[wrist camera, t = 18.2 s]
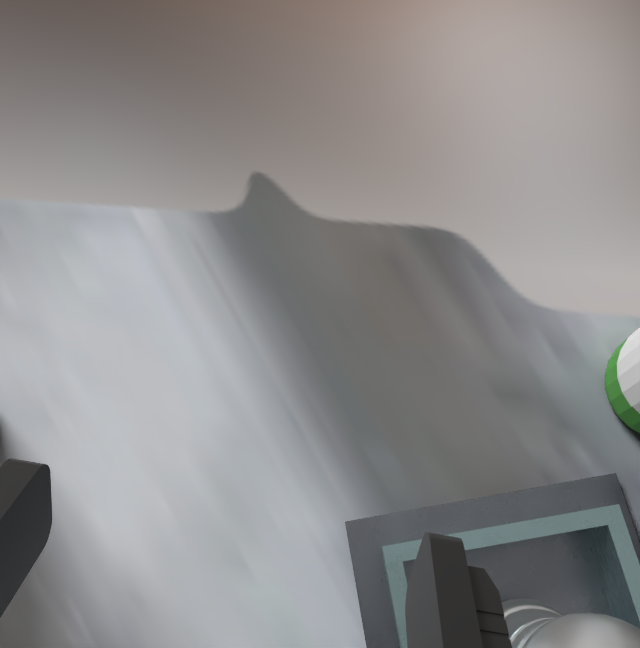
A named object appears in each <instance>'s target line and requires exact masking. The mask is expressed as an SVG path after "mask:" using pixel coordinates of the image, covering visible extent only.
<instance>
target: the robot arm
mask: <svg viewBox="0 0 640 648" xmlns="http://www.w3.org/2000/svg"><path fill="white" fill-rule="evenodd" d="M51 524H52V503H51V479H50V469H49V466H48V465H46V464H40V463H35V462H29V461H23V460H17V459H9V460H7V461H6V462H5V463H4V464H3V465H2V467H1V468H0V617H1V616H2V614H3V612H4V611H5V609H6V608H7V606H8V604H9V603H10V601H11V600H12V598H13V596H14V595H15V593H16V592H17V590H18V588H19V587H20V585H21V584H22V582H23V580H24V579H25V577H26V576H27V574H28V572H29V571H30V569H31V568H32V566H33V564H34V563H35V561H36V560H37V558H38V556H39V555H40V553H41V552H42V550H43V548H44V546H45V544H46V542H47V539H48V537H49V533H50V530H51ZM405 617H406V632H407V648H512V645H511V640H510V639H509V632H508V628H507V623H506V619H504V611H503V606H502V602H501V598H500V594H499V590H498V589H497V587H496V586H495V584H494V583H493V581H492V580H491V578H490V577H489V575H488V574H487V572H486V571H485V569H484V568H478V567H473V566H468V565H467V560H466V554H465V549H464V544H463V541H462V539H461V538H458V537H452V536H446V535H440V534H435V533H429V532H426V533H425V534H424V536H423V538H422V541H421V544H420V547H419V551H418V554H417V557H416V560H415V563H414V566H413V570H412V573H411V576H410V579H409V582H408V587H407V593H406V602H405Z"/></svg>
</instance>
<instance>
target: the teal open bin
mask: <svg viewBox="0 0 640 648" xmlns="http://www.w3.org/2000/svg"><path fill="white" fill-rule="evenodd" d="M345 524H346V529H347V535H348V541H349V547H350V553H351V558H352V564H353V570H354V576H355V582H356V588H357V593H358V599H359V605H360V611H361V617H362V622H363V628H364V634H365V640H366V646H367V648H407V632H406V617H405V602H406V593H407V587H408V582H409V579H410V576H411V573H412V570H413V566H414V563H415V560H416V557H417V554H418V551H419V547H420V544H421V541H422V538H423V536H424V534H425V533H426V532H429V533H435V534H440V535H446V536H452V537H458V538H461V539H462V541H463V544H464V549H465V554H466V560H467V565H468V566H473V567H478V568H484V569H485V571H486V572H487V574H488V575H489V577H490V578H491V580H492V581H493V583H494V584H495V586H496V587H497V589H498V590H499V594H500V598H501V602H504V601H507V600H511V599H520V598H525V599H533V600H537V601H540V602H543V603H546V604H548V605H550V606H552V607H554V608H556V609H557V610H559V611H560V612H561V613H563V614H564V615H567V614H578V613H595V614H603V615H608V616H612V617H615V618H618V619H621V620H624V621H626V622H628V623H630V624H632V625H634V626H636V627H637V628H639V629H640V542H639V539H638V536H637V533H636V530H635V527H634V525H633V522H632V519H631V516H630V513H629V510H628V507H627V504H626V501H625V498H624V495H623V493H622V490H621V487H620V484H619V481H618V478H617V475H616V473H615V474H609V475H603V476H598V477H592V478H587V479H581V480H576V481H570V482H564V483H559V484H553V485H548V486H542V487H537V488H531V489H525V490H520V491H514V492H509V493H503V494H497V495H492V496H486V497H481V498H475V499H470V500H464V501H458V502H453V503H447V504H442V505H436V506H430V507H425V508H419V509H414V510H408V511H403V512H397V513H391V514H386V515H380V516H375V517H369V518H364V519H358V520H352V521H347V522H345Z"/></svg>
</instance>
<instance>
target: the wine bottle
mask: <svg viewBox="0 0 640 648" xmlns="http://www.w3.org/2000/svg"><path fill="white" fill-rule="evenodd" d="M605 390H606V393H607V396H608V400H609V403H610V404H611V406H612V408H613V409H614V411H615V413H616V414H617V416H618V417H619V418H620V419H621V420H622V421H623V422H624V423H625V424H626V425H627V426H628V427H630V428H631V429H633V430H635V431H636V432H638V433H639V434H640V327H639V328H638V329H637V330H636V331H635V332H634V333H633V334H632V335H630V336H629V337H628V339H627V340H626V341H624V342H623V343H622V344H621V345H620V346H619V347H618V348H617V349H616V350H615V352H614V354H613V355H612V357H611V358H610V360H609V362H608V365H607V369H606V372H605Z"/></svg>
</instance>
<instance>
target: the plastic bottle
mask: <svg viewBox="0 0 640 648" xmlns="http://www.w3.org/2000/svg"><path fill="white" fill-rule="evenodd" d="M502 606H503V611H504V619H506V623H507V628H508V632H509V639H510V640H511V645H512V648H640V629H639V628H637V627H636V626H634V625H632V624H630V623H628V622H626V621H624V620H621V619H618V618H615V617H612V616H608V615H603V614H595V613H578V614H567V615H564V614H563V613H561V612H560V611H559V610H557V609H556V608H554V607H552V606H550V605H548V604H546V603H543V602H540V601H537V600H533V599H525V598H520V599H511V600H507V601H504V602H502Z"/></svg>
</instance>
